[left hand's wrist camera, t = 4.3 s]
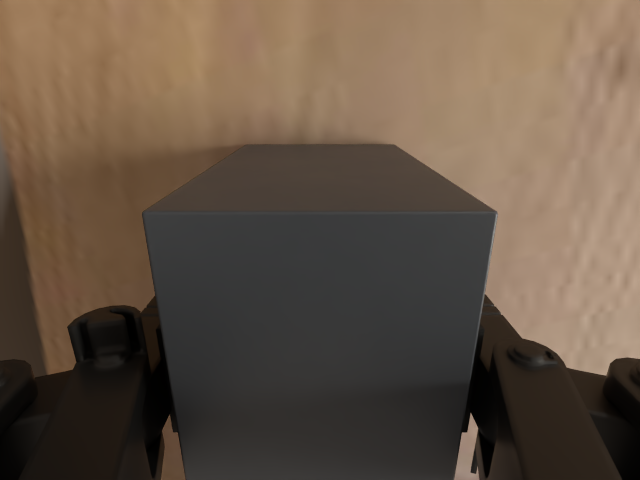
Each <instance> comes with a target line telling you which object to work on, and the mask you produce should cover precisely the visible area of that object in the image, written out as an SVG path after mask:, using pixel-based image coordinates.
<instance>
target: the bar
mask: <svg viewBox="0 0 640 480" xmlns="http://www.w3.org/2000/svg"><path fill="white" fill-rule="evenodd" d="M497 216H498V214H497V211H495V210H493V209H492V208H490V207H489V206H487V205H486V204H484V203H483V202H481V201H480V200H478V199H477V198H475V197H474V196H472V195H471V194H469V193H467V192H466V191H464V190H463V189H461V188H460V187H458V186H457V185H455V184H454V183H452V182H451V181H449V180H448V179H446V178H445V177H443V176H442V175H440V174H438V173H437V172H435V171H434V170H432V169H431V168H429V167H428V166H426V165H425V164H423V163H422V162H420V161H419V160H417V159H416V158H414V157H412V156H411V155H409V154H408V153H406V152H405V151H403V150H402V149H400V148H399V147H397V146H396V145H245V146H243V147H241V148H240V149H238V150H237V151H235V152H234V153H232V154H231V155H229V156H228V157H226V158H225V159H223V160H221V161H220V162H218V163H217V164H215V165H214V166H212V167H211V168H209V169H208V170H206V171H205V172H203V173H202V174H200V175H198V176H197V177H195V178H194V179H192V180H191V181H189V182H188V183H186V184H185V185H183V186H182V187H180V188H178V189H177V190H175V191H174V192H172V193H171V194H169V195H168V196H166V197H165V198H163V199H162V200H160V201H158V202H157V203H155V204H154V205H152V206H151V207H149V208H148V209H146V210H145V211H143V213H142V217H143V223H144V229H145V235H146V242H147V248H148V254H149V260H150V266H151V272H152V278H153V284H154V290H155V296H156V302H157V308H158V314H159V320H160V326H161V332H162V338H163V345H164V351H165V357H166V363H167V369H168V375H169V381H170V387H171V393H172V399H173V405H174V411H175V417H176V423H177V429H178V435H179V441H180V447H181V454H182V460H183V466H184V472H185V478H186V480H454V477H455V471H456V465H457V458H458V452H459V446H460V440H461V434H462V428H463V422H464V416H465V410H466V404H467V398H468V392H469V386H470V380H471V374H472V367H473V361H474V355H475V349H476V343H477V337H478V331H479V325H480V319H481V313H482V307H483V301H484V295H485V289H486V283H487V277H488V270H489V264H490V258H491V252H492V246H493V240H494V234H495V228H496V222H497Z"/></svg>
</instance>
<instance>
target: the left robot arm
mask: <svg viewBox="0 0 640 480" xmlns="http://www.w3.org/2000/svg"><path fill="white" fill-rule="evenodd" d="M67 328H68V331H69V335H70V339H71V343H72V347H73V350H74V354H75V358H76V364H75V366H74V368H73V370H70V371H66V372H61V373H56V374H50V375H45V376H41V377H34V374H33V371H32V368H31V365H30V364H28V363H27V362H26V361H23V360H15V359H13V360H4V361H0V480H161V472H162V464H163V456H164V448H165V446H164V439H163V433H162V429H163V427H164V425H165V423H166V421H167V418H168V416H169V414H170V417H171V423H172V429H173V432H178V429H177V423H176V417H175V411H174V405H173V399H172V393H171V387H170V381H169V375H168V369H167V363H166V357H165V351H164V345H163V338H162V332H161V326H160V320H159V314H158V308H157V302H156V296H155V297H154V298H153V299H152V300H151V301H150V303H149V304H148V305H147V308H145V309H144V310H143V311H142V312H141V313H140V311H139V310H137V309H136V308H135V307H130V306H125V305H121V306H109V307H104V308H99V309H96V310H93V311H90V312H88V313H85V314H83V315H82V316H80V317H78V318H76V319H75V320H74V321H73V322H72V323H71V324H70V325H69V326H68V327H67ZM470 413H471V414H472V416H473V418H474V420H475V422H476V424H477V426H478V433H477V439H476V444H475V449H474V455H473V460H472V466H471V473H475V474H476V471H477V466H478V471H479V479H480V480H640V359H634V358H620V359H616V360H614V361H613V362H612V363H610V366H609V369H608V372H607V375H606V376H604V375H599V374H594V373H589V372H583V371H578V370H574V369H570V368H566V366H565V364H564V362H563V361H562V359H561V358H560V357H559V356H558V354H557V353H555V352H554V351H552V350H551V349H549V348H548V347H546V346H544V345H541V344H539V343H537V342H534V341H530V340H526V339H522V338H521V337H520V335H519V334H518V333H517V332H516V331H515V329H514V328H513V327H512V326H511V325H510V323H509V322H508V321H507V320H506V319H505V317H504V316H503V315H501V313H500V311H499V310H498V309H497V308H496V307H494V304H493V303H492V302H491V301H490V299H489V298H488V297H487V296H486V295H484V301H483V307H482V313H481V319H480V325H479V331H478V337H477V343H476V349H475V355H474V361H473V367H472V374H471V380H470V386H469V392H468V398H467V404H466V410H465V416H464V422H463V428H462V432H467V430H468V425H469V419H470Z"/></svg>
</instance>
